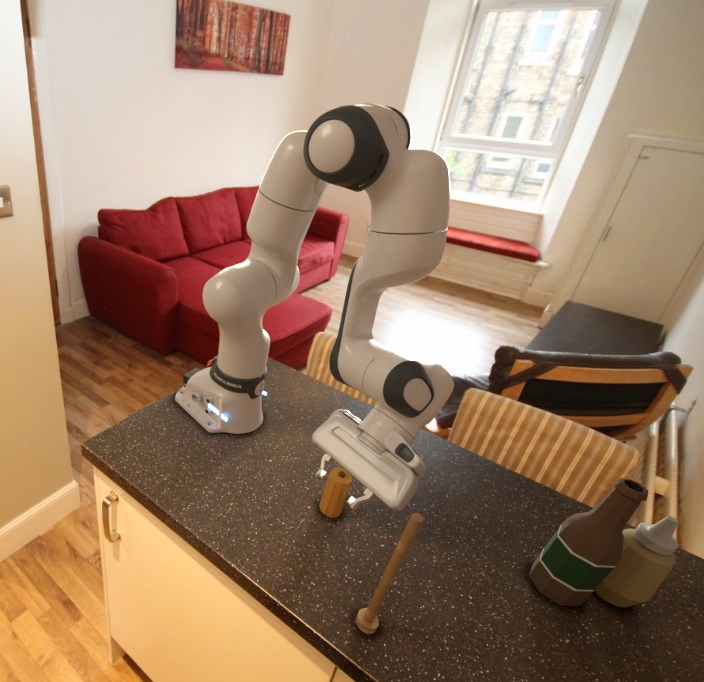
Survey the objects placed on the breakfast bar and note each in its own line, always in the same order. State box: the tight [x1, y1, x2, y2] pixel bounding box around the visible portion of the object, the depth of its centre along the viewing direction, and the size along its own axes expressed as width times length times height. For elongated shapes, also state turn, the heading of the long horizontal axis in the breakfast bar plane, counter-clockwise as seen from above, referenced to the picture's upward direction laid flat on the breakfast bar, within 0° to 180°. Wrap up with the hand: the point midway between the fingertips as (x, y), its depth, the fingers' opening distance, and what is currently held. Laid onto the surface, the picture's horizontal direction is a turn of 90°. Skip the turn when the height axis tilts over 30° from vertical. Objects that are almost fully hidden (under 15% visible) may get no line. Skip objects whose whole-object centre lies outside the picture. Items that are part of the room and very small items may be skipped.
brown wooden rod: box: [355, 512, 425, 635], centre depth 61 cm, size 3×3×24 cm
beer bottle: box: [528, 477, 649, 607], centre depth 69 cm, size 8×8×24 cm
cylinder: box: [318, 466, 354, 519], centre depth 83 cm, size 4×4×10 cm
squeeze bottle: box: [593, 515, 679, 608], centre depth 71 cm, size 8×8×18 cm
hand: (333, 492), depth 83 cm, fingers open, 6 cm apart
